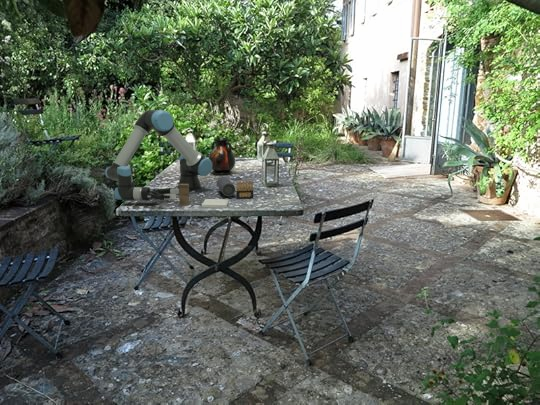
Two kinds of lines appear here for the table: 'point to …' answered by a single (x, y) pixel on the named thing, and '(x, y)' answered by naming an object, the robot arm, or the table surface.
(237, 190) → the ammunition clip
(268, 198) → the table surface
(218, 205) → the plate
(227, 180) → the bluetooth speaker
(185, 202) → the walnut block
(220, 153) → the amphora vase
